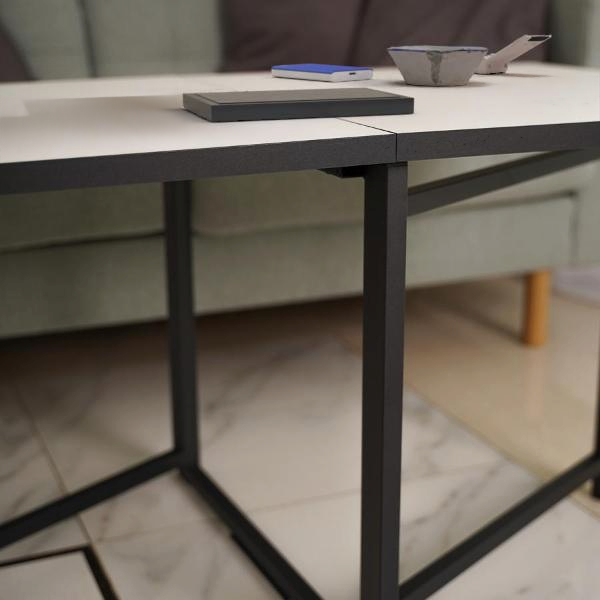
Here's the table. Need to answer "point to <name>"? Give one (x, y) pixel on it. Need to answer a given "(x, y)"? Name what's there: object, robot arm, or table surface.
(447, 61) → the bowl
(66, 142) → the table surface
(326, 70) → the hard drive
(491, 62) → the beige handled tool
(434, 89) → the table surface
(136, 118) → the table surface
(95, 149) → the table surface
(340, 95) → the tablet
